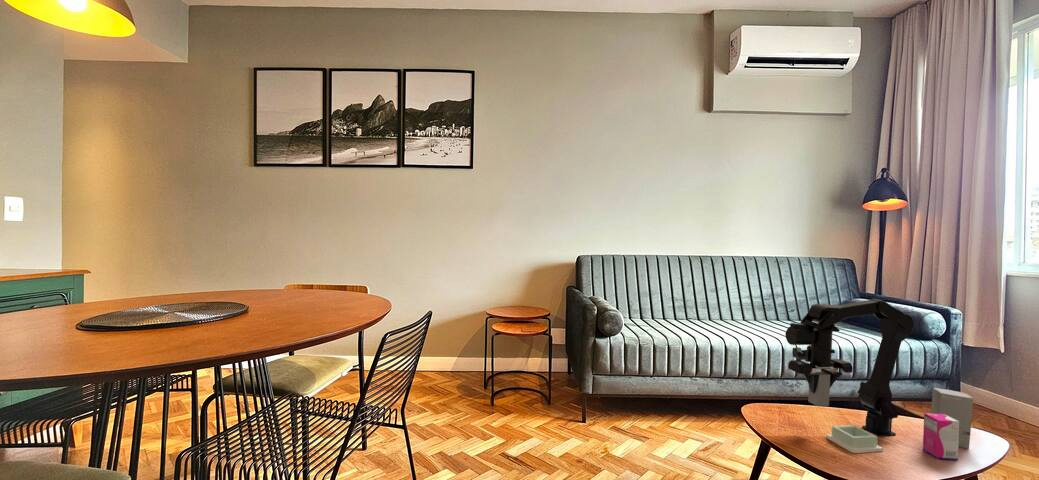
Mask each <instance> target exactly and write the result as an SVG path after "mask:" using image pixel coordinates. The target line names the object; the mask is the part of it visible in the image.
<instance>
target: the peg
mask: <svg viewBox="0 0 1039 480" xmlns="http://www.w3.org/2000/svg"><path fill="white" fill-rule="evenodd" d="M816 373H817V374H819V379H818V384H817V388H816V391H815V393H812V392H811V390H810V387H809V386H808V395H807V396H808V398H807V400H808V403H810V404H813V405H814V406H816V407H829V406H830V389H831V388H830V374H827V373H825V372H823V371H821V370H816Z"/></svg>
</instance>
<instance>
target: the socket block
mask: <svg viewBox="0 0 1039 480" xmlns="http://www.w3.org/2000/svg"><path fill="white" fill-rule="evenodd" d="M878 437H879V436H878V435H876V434H874V433H872V432H870V431H868V430H866V429H864V428H862V427H859V426H858V425H855V424H852V425H835V426H832V427H831V433H829V434H826V435H825V438H826V439H827V440H829V441H831V442H833V443H835V444H837V445H838V446H840V447H842V448H843V449H845V450H847V451H848V452H850V453H853V454H860V453H877V452H883V451H884V448H883V447H882V446H880V445H878Z"/></svg>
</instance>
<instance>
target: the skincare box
mask: <svg viewBox="0 0 1039 480" xmlns="http://www.w3.org/2000/svg"><path fill="white" fill-rule="evenodd" d="M973 407H974V398H973V397H972V396H970V395H969V394H967V393H966V392H964V391H963V392H961V391H956V390H951V389H945V388H939V387H932V397H931V411H930V413H932V414H945V415H947V416H949V417H951V418H953V419H955V420H957V421H959V442H958V448H964V449H968V450H969V449H970V441H971V432H972V431H971V430H972V419H973V409H974V408H973Z"/></svg>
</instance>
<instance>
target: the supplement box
mask: <svg viewBox="0 0 1039 480" xmlns="http://www.w3.org/2000/svg"><path fill="white" fill-rule="evenodd" d="M922 433H923V435H922V437H923V438H922V450H923V452H925V453H927V454H928V455H930V456H931V457H933V458H934V459H936V460H945V461H957V460H958V461H959V447H958V442H959V421H957V420H955V419H953V418H951V417H949V416H947V415H945V414H932V413H931V412H930V413H929V412H928V413H927V412H924V414H923V432H922Z"/></svg>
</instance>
